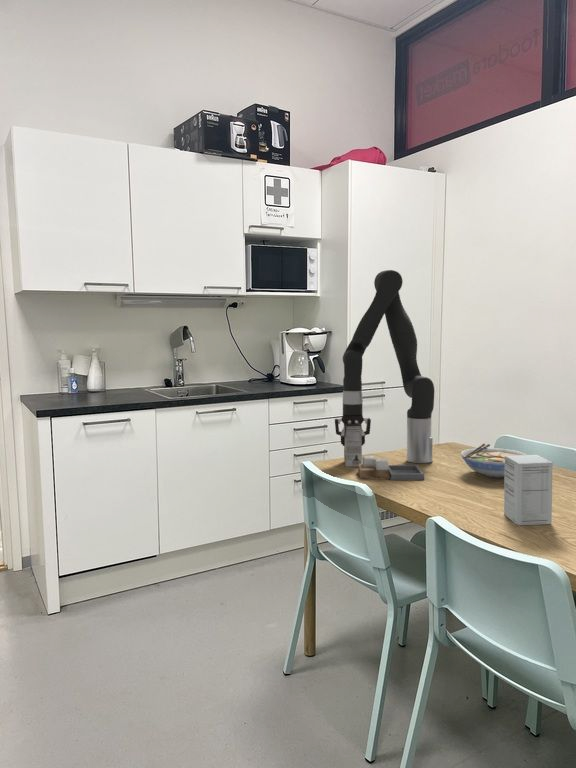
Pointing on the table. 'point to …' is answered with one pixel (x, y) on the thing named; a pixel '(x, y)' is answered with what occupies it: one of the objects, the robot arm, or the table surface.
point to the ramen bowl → (488, 460)
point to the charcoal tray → (405, 472)
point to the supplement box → (528, 490)
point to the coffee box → (353, 444)
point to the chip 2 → (381, 464)
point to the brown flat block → (372, 472)
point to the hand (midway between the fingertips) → (352, 445)
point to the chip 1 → (368, 461)
